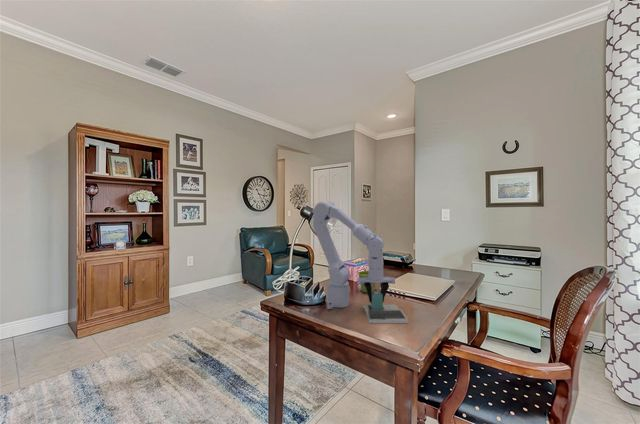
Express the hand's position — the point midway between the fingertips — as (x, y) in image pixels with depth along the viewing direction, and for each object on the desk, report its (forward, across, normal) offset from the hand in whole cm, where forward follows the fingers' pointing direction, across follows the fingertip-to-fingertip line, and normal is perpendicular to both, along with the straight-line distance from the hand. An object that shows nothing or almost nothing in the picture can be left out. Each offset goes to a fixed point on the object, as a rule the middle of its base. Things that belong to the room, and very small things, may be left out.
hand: (376, 301), depth 103 cm
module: (+2, 0, 0) cm, 2 cm away
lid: (+4, +2, 0) cm, 4 cm away
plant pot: (+4, 0, +23) cm, 23 cm away
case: (+4, +2, -8) cm, 9 cm away
